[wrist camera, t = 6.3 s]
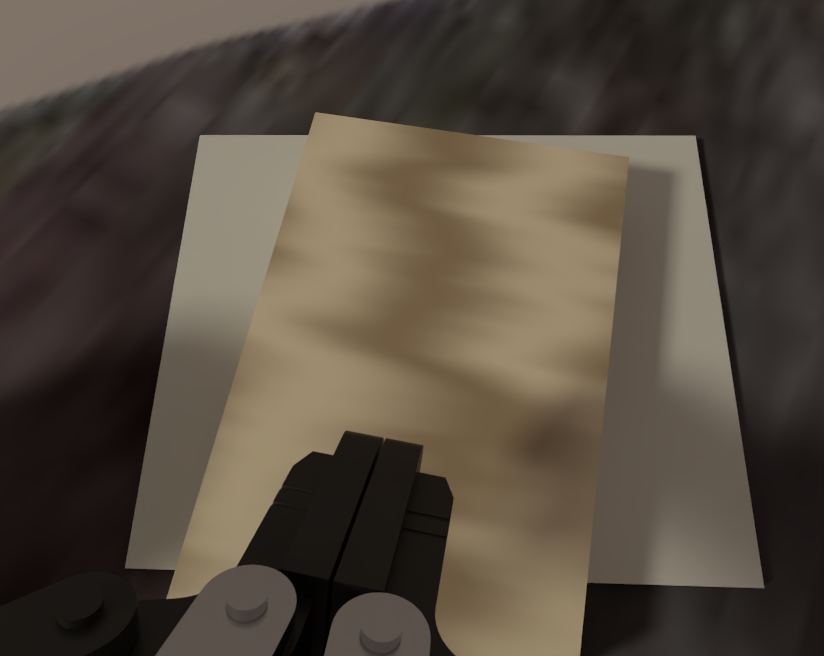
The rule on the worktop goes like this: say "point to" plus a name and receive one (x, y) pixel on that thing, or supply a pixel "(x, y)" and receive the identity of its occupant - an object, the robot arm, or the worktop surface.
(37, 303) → the worktop surface
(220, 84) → the worktop surface
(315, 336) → the wooden block
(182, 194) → the worktop surface
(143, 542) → the mat
